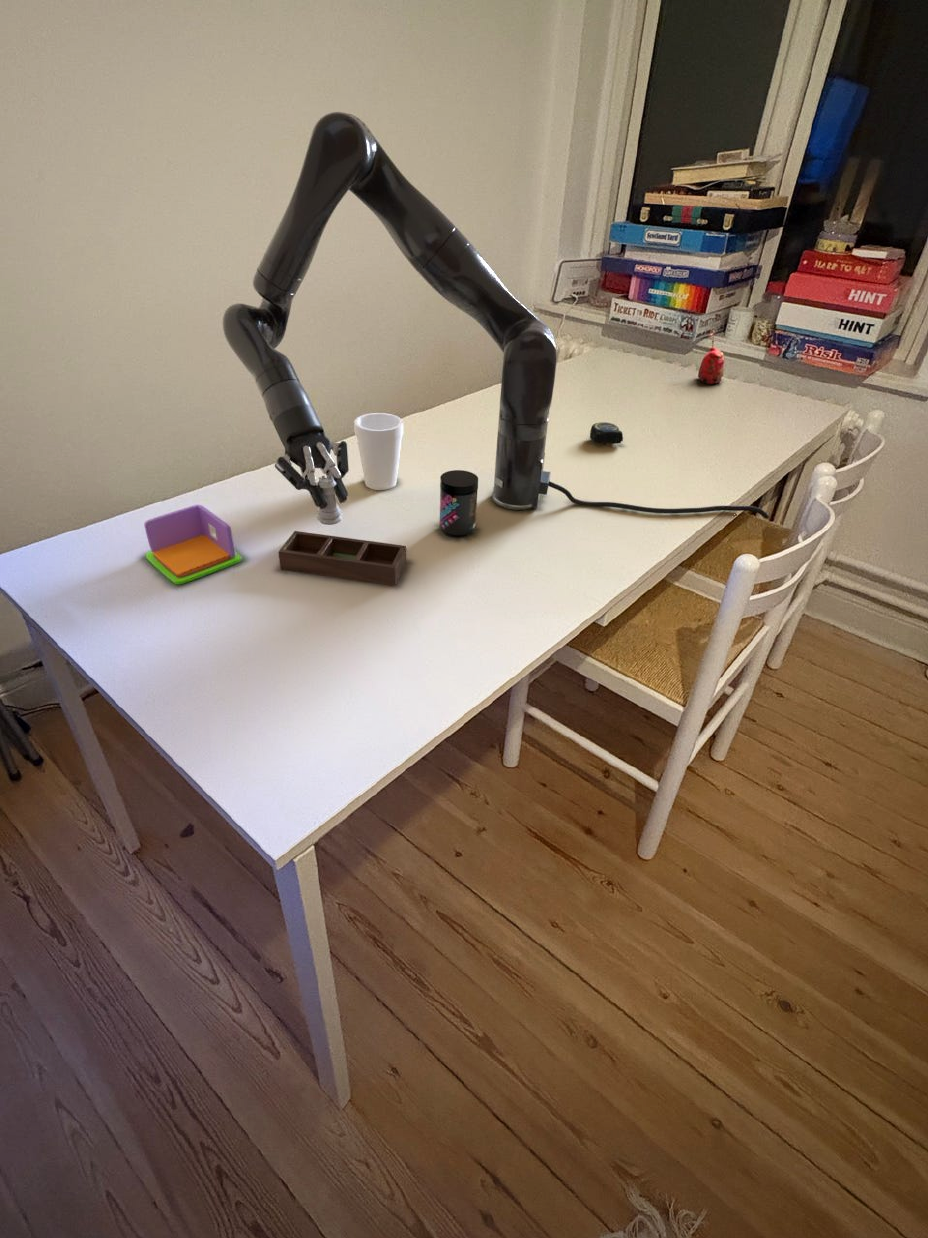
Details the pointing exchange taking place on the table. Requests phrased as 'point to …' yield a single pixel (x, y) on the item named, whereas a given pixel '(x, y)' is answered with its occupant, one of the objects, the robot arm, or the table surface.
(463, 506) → the supplement container
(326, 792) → the table surface
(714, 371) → the red clay folk toy
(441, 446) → the table surface
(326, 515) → the rook chess piece
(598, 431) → the tape measure
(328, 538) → the compartment tray
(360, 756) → the table surface
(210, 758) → the table surface
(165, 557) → the toy room diorama
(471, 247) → the robot arm
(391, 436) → the foam cup
